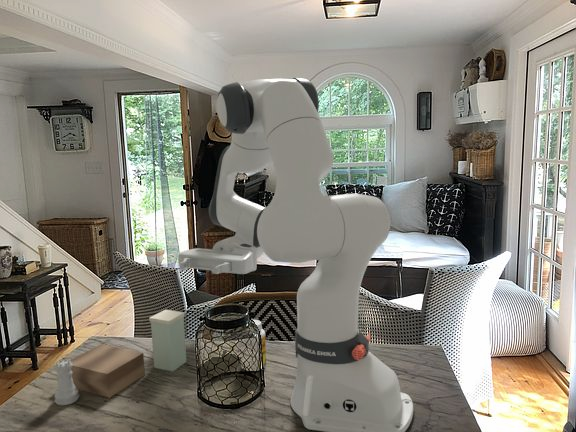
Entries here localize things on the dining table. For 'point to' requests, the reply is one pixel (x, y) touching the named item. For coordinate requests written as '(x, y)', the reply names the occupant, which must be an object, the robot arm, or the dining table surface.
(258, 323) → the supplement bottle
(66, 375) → the rook chess piece
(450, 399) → the dining table surface
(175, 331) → the sage tin
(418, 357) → the dining table surface
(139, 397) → the dining table surface
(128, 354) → the walnut block
